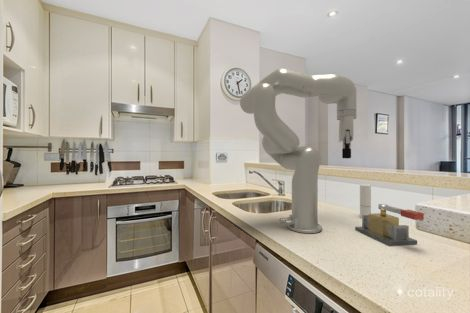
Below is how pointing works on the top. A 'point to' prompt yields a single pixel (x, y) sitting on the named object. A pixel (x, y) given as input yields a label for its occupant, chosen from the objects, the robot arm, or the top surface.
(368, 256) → the top surface
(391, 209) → the valve lever
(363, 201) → the tube
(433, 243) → the top surface
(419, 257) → the top surface
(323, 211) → the top surface
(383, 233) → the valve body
